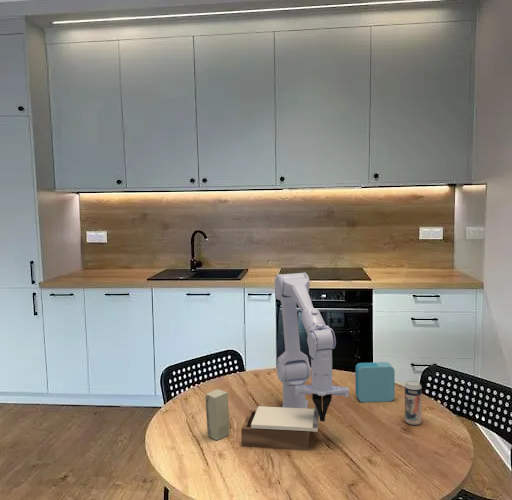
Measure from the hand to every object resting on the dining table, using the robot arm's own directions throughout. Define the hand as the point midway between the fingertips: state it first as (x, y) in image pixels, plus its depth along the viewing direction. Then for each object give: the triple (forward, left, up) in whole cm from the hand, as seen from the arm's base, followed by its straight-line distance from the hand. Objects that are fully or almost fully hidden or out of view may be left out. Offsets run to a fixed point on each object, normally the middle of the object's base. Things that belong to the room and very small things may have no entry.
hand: (322, 419), depth 134 cm
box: (+1, -30, -6) cm, 30 cm away
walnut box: (0, -13, -6) cm, 14 cm away
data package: (-30, +16, -6) cm, 35 cm away
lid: (0, -10, -1) cm, 10 cm away
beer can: (-14, +26, -6) cm, 30 cm away
